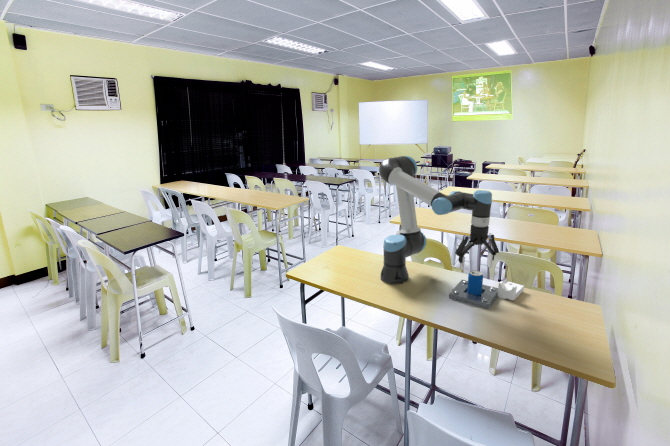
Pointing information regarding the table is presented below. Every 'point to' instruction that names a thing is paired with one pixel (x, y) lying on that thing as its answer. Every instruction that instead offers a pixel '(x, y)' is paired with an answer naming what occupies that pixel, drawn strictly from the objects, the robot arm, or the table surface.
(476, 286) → the beverage can
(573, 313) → the table surface
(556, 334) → the table surface
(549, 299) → the table surface
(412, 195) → the robot arm
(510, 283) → the bracket
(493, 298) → the grey fixture plate
